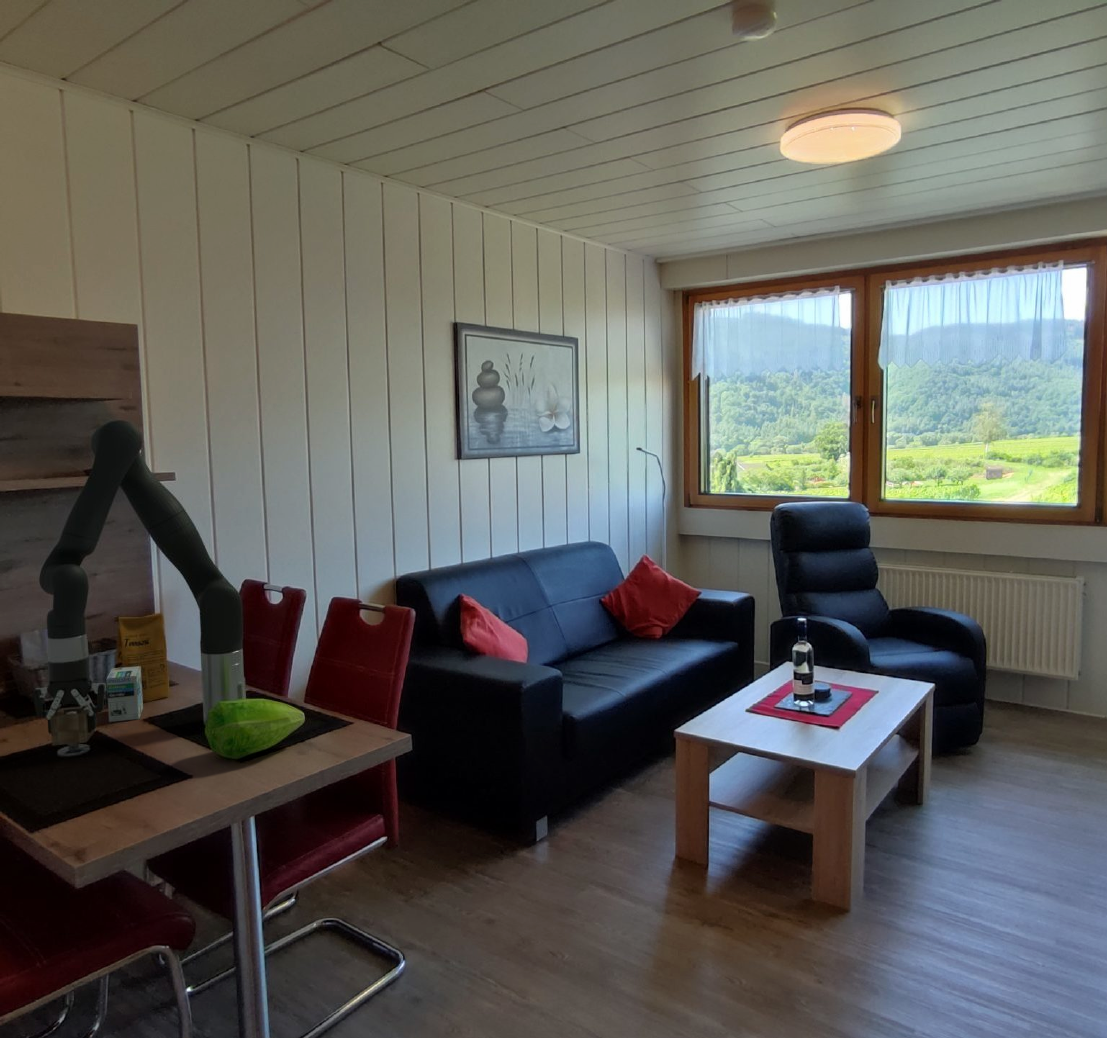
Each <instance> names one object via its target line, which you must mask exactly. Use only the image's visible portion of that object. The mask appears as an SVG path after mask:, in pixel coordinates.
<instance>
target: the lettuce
mask: <svg viewBox="0 0 1107 1038" xmlns="http://www.w3.org/2000/svg"><path fill="white" fill-rule="evenodd" d="M305 719H306V717H305V713H304V712H303V711H302V710H300V709H298V708H297V707H294V706H292V705H290V704H287V703H284V702H280V701H277V700H276V701H275V700H272V699H266V698H246V699H237V700H232V701H220V702H218V703H217V704H216V705H215V706H214V707H213V708H212V709H211V710H210V711H209V712H208V717H207V722H206V725H205V727H204V733H205V737H206V739H207V741H208V744H209V746H210V749H211V751H214V752H215V753H217V754H218V755H220V756H222V757H223V758H227V759H232V760H239V759H241V758H244V757H247V756H249V755H252V754H255V753H259V752H261V751H264V750H267V749H269V748H272V747H273V746H275V745H277V744H278V743H280V742H282V740H284V739H285V738H287V737H288V736H289V735H291V733H293V732H294V731H296V730H298V728H300V727H301V726H302V725H303V724H304V723H305V721H306V720H305Z"/></svg>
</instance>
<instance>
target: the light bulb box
mask: <svg viewBox="0 0 1107 1038" xmlns="http://www.w3.org/2000/svg"><path fill="white" fill-rule="evenodd" d="M106 683H107V692H106V695H107V708H108V709H107V710H108V723H113V722H121V721H132V720H139V719H140V717H141V714H142V711H143V709H144V705H143V703H144V702H143V699H142V681H141V667H140V666H137V667H125V668H115V667H114V668H113V667H112V668H111V670H110V672H109V673H108V675H107V677H106Z"/></svg>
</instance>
